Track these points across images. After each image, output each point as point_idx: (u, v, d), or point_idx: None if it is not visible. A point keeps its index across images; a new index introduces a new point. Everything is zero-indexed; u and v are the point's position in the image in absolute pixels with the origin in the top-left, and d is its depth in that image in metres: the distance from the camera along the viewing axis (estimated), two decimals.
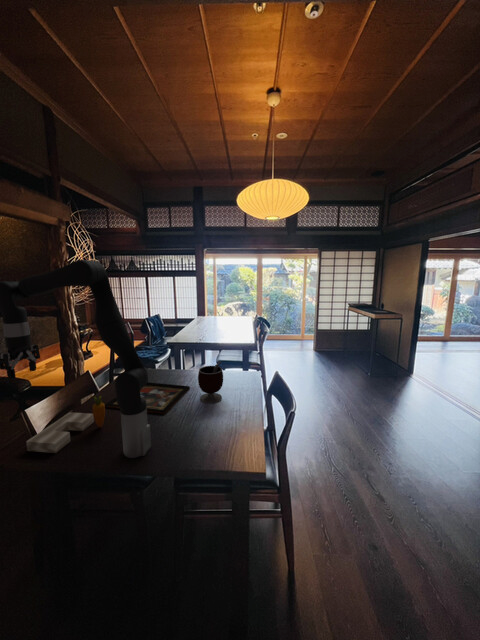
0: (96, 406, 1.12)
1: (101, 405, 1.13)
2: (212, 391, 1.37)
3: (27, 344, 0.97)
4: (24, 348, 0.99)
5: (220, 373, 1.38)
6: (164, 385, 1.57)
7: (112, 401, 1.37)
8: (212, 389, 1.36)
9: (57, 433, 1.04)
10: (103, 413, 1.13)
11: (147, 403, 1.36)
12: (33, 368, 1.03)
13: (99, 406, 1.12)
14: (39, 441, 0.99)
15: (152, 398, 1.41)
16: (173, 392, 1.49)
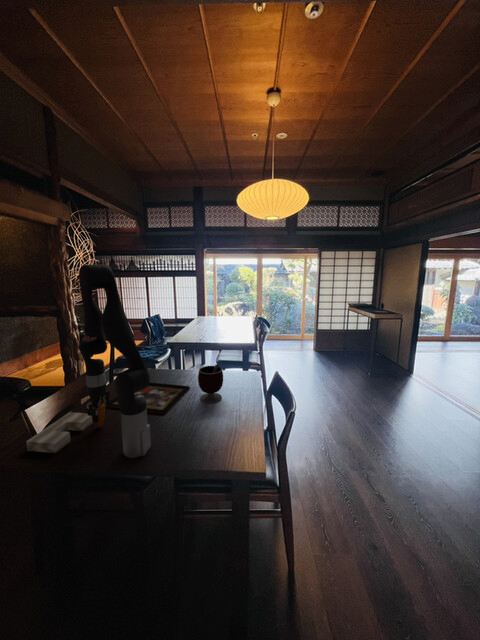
0: (96, 406, 1.12)
1: (101, 405, 1.13)
2: (212, 391, 1.37)
3: (105, 392, 1.12)
4: (101, 394, 1.13)
5: (220, 373, 1.38)
6: (164, 385, 1.57)
7: (112, 401, 1.37)
8: (212, 389, 1.36)
9: (57, 433, 1.04)
10: (103, 413, 1.13)
11: (147, 403, 1.36)
12: None
13: None
14: (39, 441, 0.99)
15: (152, 398, 1.41)
16: (173, 392, 1.49)
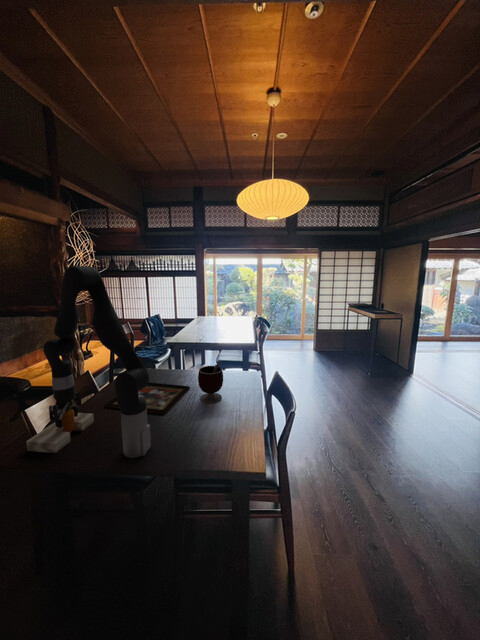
0: None
1: (69, 411, 1.07)
2: (212, 391, 1.37)
3: (72, 394, 1.06)
4: (69, 397, 1.07)
5: (220, 373, 1.38)
6: (164, 385, 1.57)
7: (112, 401, 1.37)
8: (212, 389, 1.36)
9: (57, 433, 1.04)
10: (72, 420, 1.08)
11: (147, 403, 1.36)
12: (75, 414, 1.12)
13: (67, 412, 1.06)
14: (39, 441, 0.99)
15: (152, 398, 1.41)
16: (173, 392, 1.49)
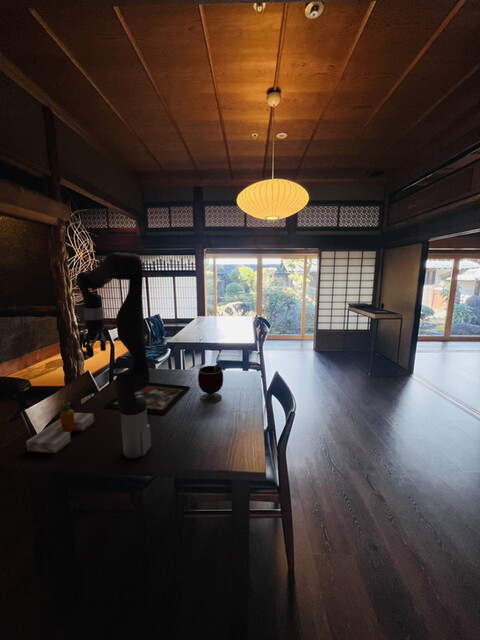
0: (64, 413, 1.06)
1: (69, 412, 1.07)
2: (212, 391, 1.37)
3: (102, 326, 1.12)
4: (99, 330, 1.14)
5: (220, 373, 1.38)
6: (164, 385, 1.57)
7: (112, 401, 1.37)
8: (212, 389, 1.36)
9: (57, 433, 1.04)
10: (72, 420, 1.08)
11: (147, 403, 1.36)
12: (104, 348, 1.18)
13: (67, 413, 1.06)
14: (39, 441, 0.99)
15: (152, 398, 1.41)
16: (173, 392, 1.49)
